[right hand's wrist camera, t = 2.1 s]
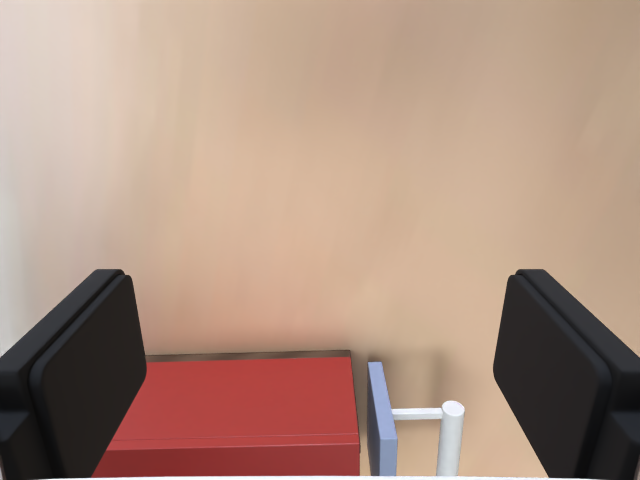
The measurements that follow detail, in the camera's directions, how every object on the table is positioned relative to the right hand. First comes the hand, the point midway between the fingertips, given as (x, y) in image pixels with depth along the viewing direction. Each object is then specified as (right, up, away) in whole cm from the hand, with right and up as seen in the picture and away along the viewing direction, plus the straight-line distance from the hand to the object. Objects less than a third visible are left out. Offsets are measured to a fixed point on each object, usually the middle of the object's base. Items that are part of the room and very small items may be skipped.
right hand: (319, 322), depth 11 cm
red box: (-8, -13, +31) cm, 34 cm away
